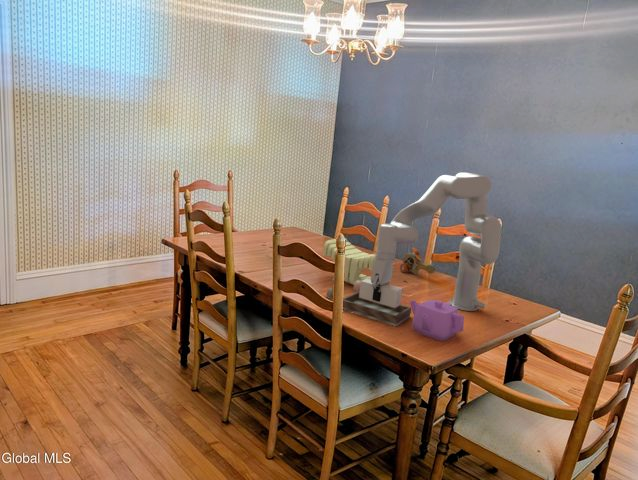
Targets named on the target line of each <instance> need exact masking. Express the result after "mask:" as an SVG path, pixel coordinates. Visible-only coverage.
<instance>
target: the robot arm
mask: <svg viewBox="0 0 638 480" xmlns="http://www.w3.org/2000/svg"><path fill="white" fill-rule="evenodd" d="M492 187H493V186H492V181H491V179H490V178H489V177H488V176H487V175H483V174H478V173H472V172H467V171H466V172H465V171H462V172H461V171H460V172H458V173H456V174H455V175H450V174H443V175H440V176H438V177H437V179H436V180H435V181H433V183H432V184H431V186H430V187H429V188H428V189H427V190H426V191H425V193H423V194H422V196H421V197H420V198H419V199H418V200H417V201H415V202H413V203H411V204H410V205H408V206H406V207H405V208H403V209H401V210H400V211H399V212H398V213H397V214H396V215H395V216H394V218H393V219H392V220H391V221H390V223H382V224H380V226H379V228H378V233H377V234H378V235H377V242H376V243H377V244H376V248H375V250H376V251H375V255H376V257H375V258H376V259H375V262H374V266H373V271H371V276H370V277H371V283H373V284H372V286H373V298H372V299H373V300H375V301H378V302H380V298H381V292H380V291H381V287H382V285H383V284H389V285H390V281H391V280H392V278H393V271H394V261H395V258H396V251H397V245H398V244H402V245H407V246H408V245H410V246H411V245H413V244H415V243H416V242H418V240H419V236H420V235H419V230H417V228H415V227H414V226H412V225H410V224H411V223H412V222H415V221H416V220H418V219H421V218H426V217H430V216H434V215H435V214H437V212H438V211H439V210H440V209H441V207H443V206H444V204H445V203H446V202H447V201H448V199H450V198H451V199H456V200H465V215H464V229H465V231H466V232H468V233H469V234H471V235H468V236H465V237H464V238H462V239H461V241H460V243H459V248H458V249H459V251H458V252H459V262H458V267H457V268H458V270H457V276H456V282H455V287H454V295H453V298H452V299H449V302H448V303H450V304H452V306H453V307H455V308H457V309H458V310H460V311H466V312H475V311H477V310H479V308H482V309H486V303H485V302H484V301H483V302H482V301H480V300H479V297H477V296H478V290H479V286H480V281H481V274H482V264H485V265H492V264H494V263H495V262H496V261H497V260H498V258H499V255H500V250H501V249H500V248H501V239H502V236H501V235H502V224H501V222H500V220H499V218H497V217H496V216H493V215H489V214H488V212H487V211H488V210H487V209H488V208H487V207H488V205H487V204H488V200H487V194H489V193H490V192H491V189H492ZM377 282H380V283H379V284H378V283H377ZM377 285H379V287H378V286H377Z"/></svg>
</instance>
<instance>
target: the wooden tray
mask: <svg viewBox="0 0 638 480" xmlns="http://www.w3.org/2000/svg"><path fill="white" fill-rule="evenodd" d="M342 299H343V309H344V310H343V311H345V310H346V311H345V312H348V311H350V312H349V313H351V312H353V313H352V314H354V313H356V314H355V315H357V314H359V315H358V316H360V315H362V316H361V317H364V316H365V317H364V318H367V317H369V318H368V319H370V318H372V319H371V320H373V319H375V320H374V321H376V320H378V321H377V322H379V321H381V322H380V323H382V322H384V323H383V324H386V323H387V324H386V325H389V324H390V325H389V326H392V325H393V326H392V327H395V326H396V327H397V326H399V325H400V324H402V323H403V322H404V321H406V320H408V319H409V318H410V317H411V313H412V312H411V311H412V307H411V306H407V305H404V304H401V303H400V305H399V306H398V307H396V308H393V307H390V306H386V305H383V304H380V303H376V302H373V301H369V300H366V299H362V298H359V293H356V292H354V293H352V294H350V295H347V296H345V297H343V298H342Z"/></svg>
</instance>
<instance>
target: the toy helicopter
mask: <svg viewBox="0 0 638 480" xmlns="http://www.w3.org/2000/svg"><path fill="white" fill-rule="evenodd" d="M411 249H412V251H413V252H409V253H406V254H404V255H403V257H402V263H401V264H400V266H399V270H400V272H401V273H403V274H404V273H407V272H409V273H412V274H413V275H418V274H419V271H420V270H423V271H425V272H426V273H428V275H429V274H434V273H435V272H436V267H435V265H433V264H432V263H430V264H428V263H427V264H426V263H424V262H422V258H421V255H420V252H419V251H418V248H416V247H414V246H412V247H411Z"/></svg>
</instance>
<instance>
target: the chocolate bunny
mask: <svg viewBox="0 0 638 480" xmlns="http://www.w3.org/2000/svg"><path fill="white" fill-rule="evenodd" d="M334 278H335V277H333V278H331V279H332V280H331V283H332V285H333V284H334ZM326 293H327V294H326V295H327V297H329V298H330V299H329V300H331V299H333V287H331V288H329V289H327V292H326ZM326 295H325V296H326ZM327 297H326V298H327Z"/></svg>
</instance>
